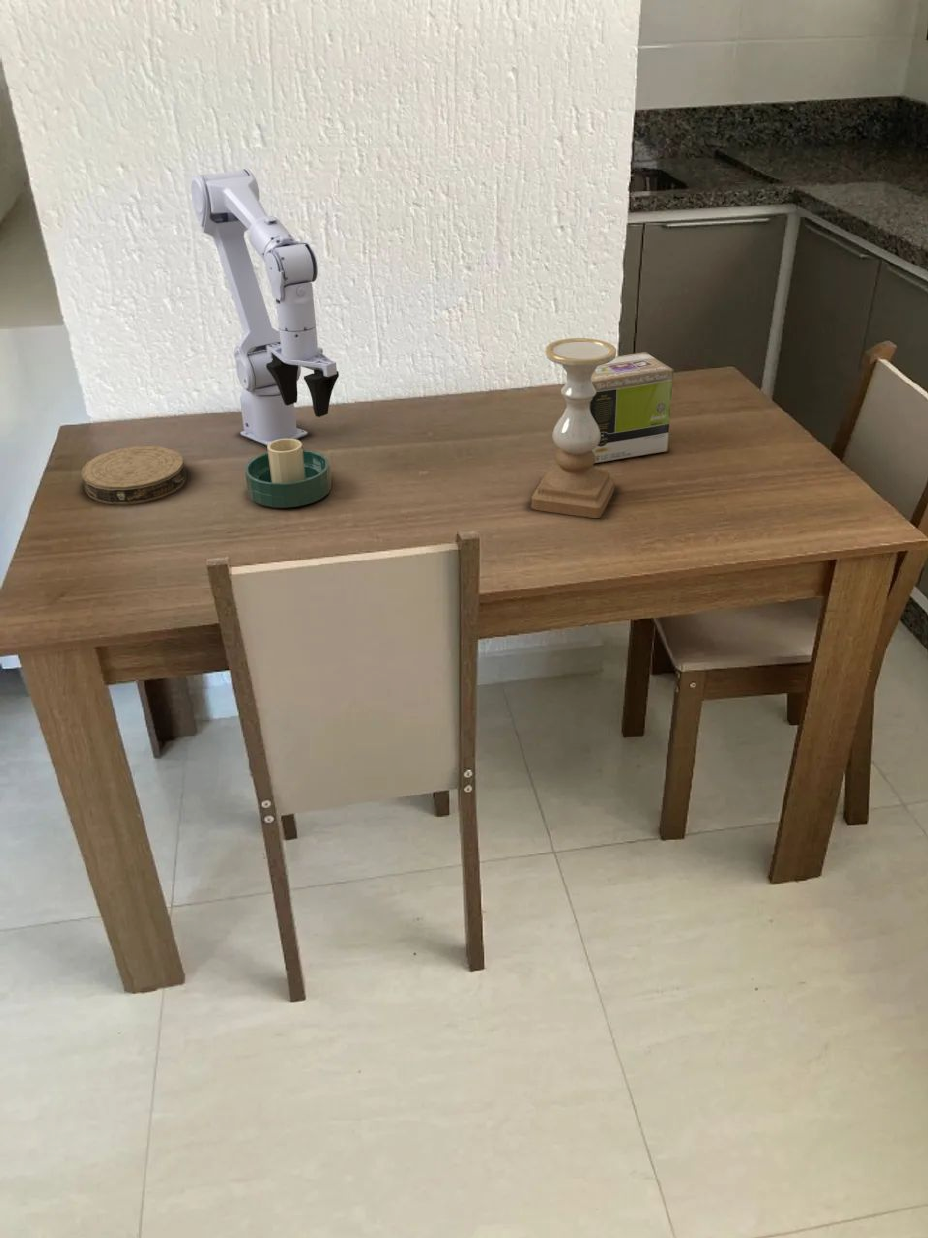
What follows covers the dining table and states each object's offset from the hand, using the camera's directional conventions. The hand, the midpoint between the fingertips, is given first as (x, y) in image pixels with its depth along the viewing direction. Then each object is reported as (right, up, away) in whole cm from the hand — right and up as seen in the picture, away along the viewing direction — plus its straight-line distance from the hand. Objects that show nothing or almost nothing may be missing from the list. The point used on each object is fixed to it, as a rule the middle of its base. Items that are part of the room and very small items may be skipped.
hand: (306, 409), depth 166 cm
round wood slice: (-28, -12, +1) cm, 30 cm away
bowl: (-2, -14, -3) cm, 14 cm away
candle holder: (+43, -15, -6) cm, 46 cm away
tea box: (+52, -5, +9) cm, 53 cm away
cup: (-2, -13, -3) cm, 14 cm away
